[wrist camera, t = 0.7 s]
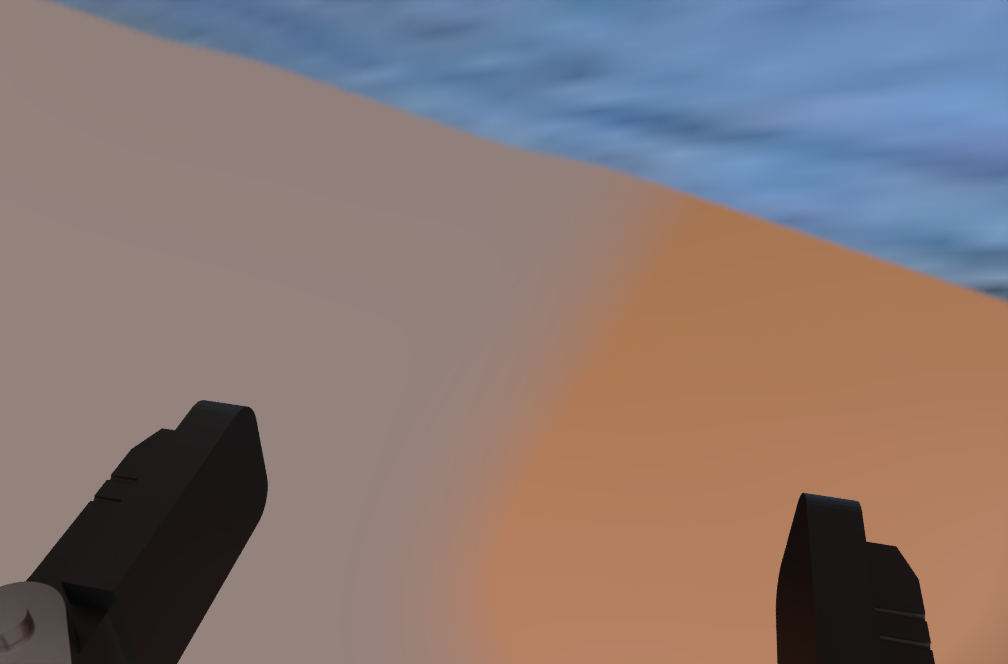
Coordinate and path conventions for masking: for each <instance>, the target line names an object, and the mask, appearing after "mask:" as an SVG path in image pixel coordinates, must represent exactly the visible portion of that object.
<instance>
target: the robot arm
mask: <svg viewBox="0 0 1008 664" xmlns="http://www.w3.org/2000/svg"><path fill="white" fill-rule="evenodd" d="M267 491H268V481H267V475H266V469H265V464H264V458H263V453H262V448H261V443H260V437H259V432H258V426H257V421H256V416H255V414H254V411H253V410H252V409H251V408H250V407H246V406H239V405H232V404H226V403H219V402H213V401H206V400H202V401H199V402H197V403H196V404H195V405H194V406H193V407H192V409H191V410H190V411H189V413H188V414H187V415H186V417H185V418H184V419H183V420H182V422H181V423H180V425H179V426H178V427H177V428H176V430H169V429H161V430H159V431H158V432H156V433H155V434H153V435H152V436H150V437H149V438H147V439H146V440H144V441H143V442H141V443H140V444H138V445H137V446H135V447H134V448H132V449H131V450H130V452H129V453H128V454H127V455H126V457H125V458H124V459H123V460H122V462H121V463H120V464H119V465H118V467H117V468H116V469H115V471H114V472H113V473H112V474H111V479H110V480H106V482H105V483H104V484H103V486H102V487H101V488H100V489H99V491H98V492H97V493H96V494H95V498H94V501H90V502H89V503H88V504H87V506H86V507H85V508H84V509H83V511H82V512H81V513H80V515H79V516H78V517H77V518H76V520H75V521H74V522H73V523H72V524H71V526H70V527H69V529H68V530H67V531H66V532H65V533H64V535H63V536H62V537H61V538H60V540H59V541H58V542H57V543H56V545H55V546H54V547H53V549H52V550H51V551H50V552H49V554H48V555H47V556H46V557H45V558H44V560H43V561H42V562H41V563H40V565H39V566H38V567H37V569H36V570H35V571H34V572H33V574H32V575H31V576H30V577H29V578H28V579H27V580H26V581H25V582H18V583H12V584H9V585H4V586H1V587H0V664H177V663H178V661H179V659H180V658H181V656H182V654H183V653H184V651H185V649H186V647H187V646H188V644H189V642H190V640H191V639H192V637H193V635H194V633H195V632H196V630H197V628H198V626H199V625H200V623H201V621H202V620H203V618H204V616H205V614H206V613H207V611H208V609H209V607H210V605H211V604H212V602H213V600H214V599H215V597H216V595H217V594H218V592H219V590H220V588H221V587H222V585H223V583H224V581H225V580H226V578H227V576H228V574H229V573H230V571H231V569H232V567H233V566H234V564H235V562H236V560H237V558H238V557H239V555H240V554H241V552H242V550H243V548H244V547H245V545H246V543H247V541H248V540H249V538H250V536H251V535H252V533H253V531H254V529H255V527H256V526H257V524H258V522H259V520H260V518H261V516H262V514H263V511H264V507H265V503H266V499H267ZM776 596H777V597H776V631H777V663H778V664H935V662H934V657H933V652H932V650H930V644H931V641H930V637H929V631H928V626H927V622H926V621H925V610H924V605H923V599H922V594H921V589H920V584H919V580H918V578H917V576H916V575H915V573H914V572H913V570H912V569H911V568H910V566H909V564H908V563H907V561H906V560H905V559H904V557H903V556H902V554H901V553H900V551H899V550H898V548H897V547H896V546H889V545H884V544H877V543H871V542H866V537H865V530H864V523H863V516H862V510H861V506H860V503H859V502H858V501H853V500H847V499H840V498H834V497H827V496H820V495H814V494H807V493H802V494H801V496H800V498H799V501H798V504H797V508H796V512H795V515H794V519H793V523H792V526H791V530H790V533H789V537H788V541H787V545H786V548H785V552H784V556H783V559H782V563H781V567H780V572H779V578H778V585H777V595H776Z"/></svg>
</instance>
